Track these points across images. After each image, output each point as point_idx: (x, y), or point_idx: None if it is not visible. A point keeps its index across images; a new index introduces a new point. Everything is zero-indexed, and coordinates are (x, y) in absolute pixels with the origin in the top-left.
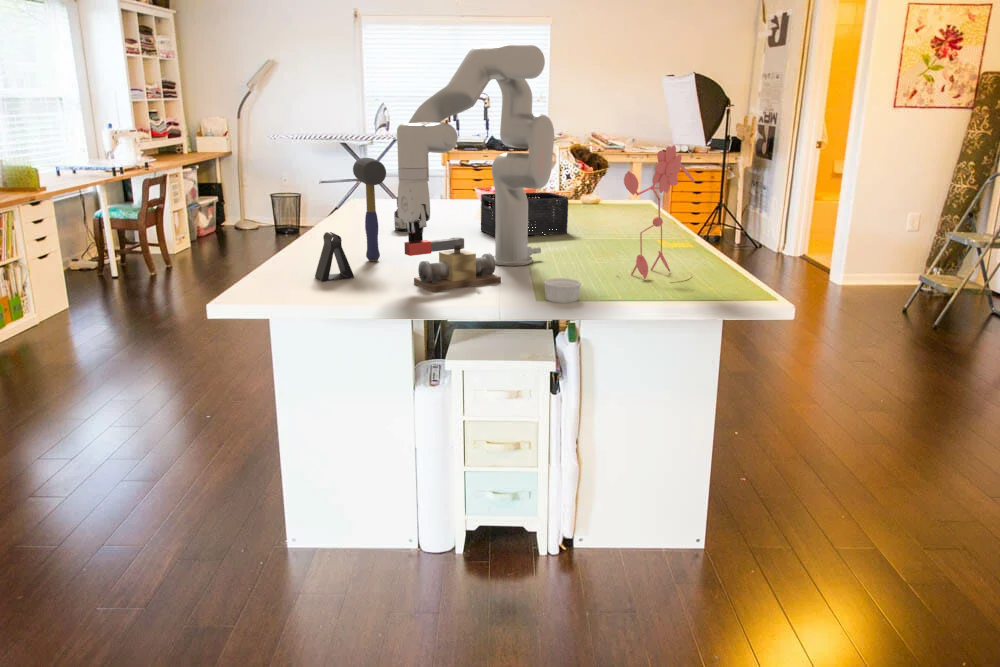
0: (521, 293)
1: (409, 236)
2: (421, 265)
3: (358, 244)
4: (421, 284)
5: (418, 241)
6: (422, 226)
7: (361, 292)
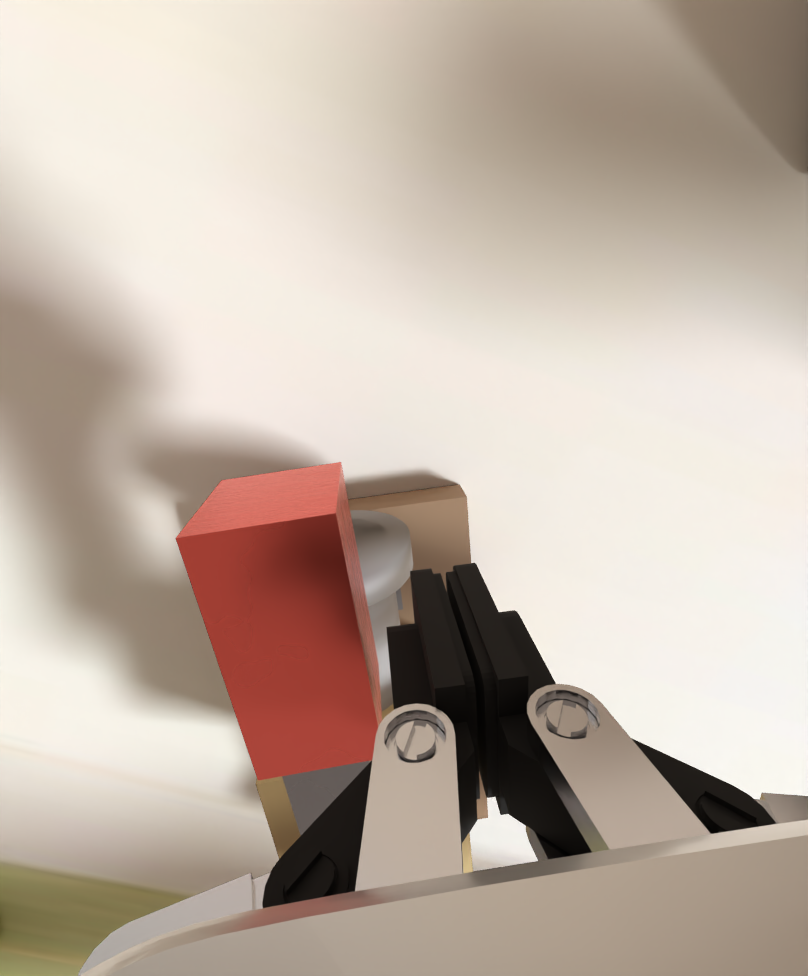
0: (66, 834)
1: (484, 644)
2: (362, 559)
3: None
4: (367, 502)
5: (317, 674)
6: (98, 954)
7: (379, 58)
